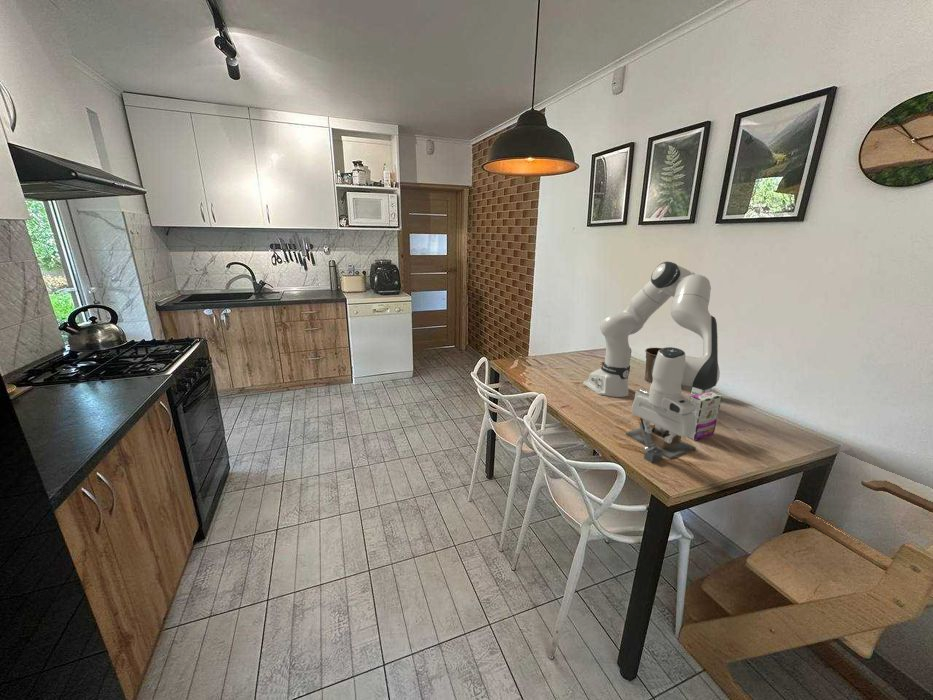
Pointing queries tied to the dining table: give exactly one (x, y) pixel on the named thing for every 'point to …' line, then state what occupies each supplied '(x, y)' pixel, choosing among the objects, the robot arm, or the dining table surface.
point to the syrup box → (698, 391)
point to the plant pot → (650, 362)
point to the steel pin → (660, 431)
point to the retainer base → (652, 453)
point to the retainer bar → (645, 435)
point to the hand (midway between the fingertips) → (657, 437)
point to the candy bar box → (705, 413)
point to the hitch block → (663, 443)
